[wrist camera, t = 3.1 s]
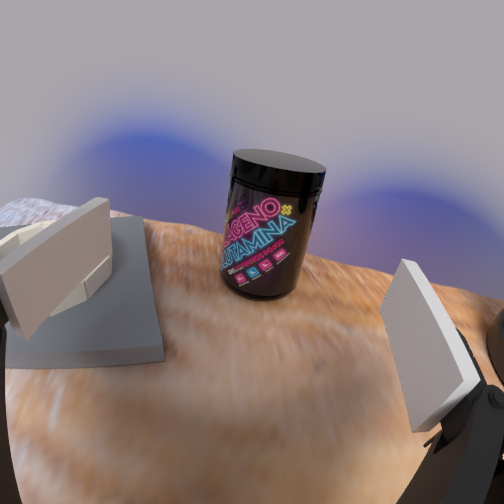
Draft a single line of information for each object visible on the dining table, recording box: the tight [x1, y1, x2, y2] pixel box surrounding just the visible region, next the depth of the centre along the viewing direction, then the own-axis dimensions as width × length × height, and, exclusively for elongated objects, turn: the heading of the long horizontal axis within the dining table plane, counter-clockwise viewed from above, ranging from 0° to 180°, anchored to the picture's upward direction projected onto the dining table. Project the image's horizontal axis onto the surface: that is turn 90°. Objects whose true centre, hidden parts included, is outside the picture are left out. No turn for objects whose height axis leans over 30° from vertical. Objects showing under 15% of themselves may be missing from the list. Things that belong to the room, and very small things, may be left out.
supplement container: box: [220, 149, 326, 301], centre depth 22 cm, size 7×7×10 cm
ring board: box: [0, 216, 165, 369], centre depth 19 cm, size 18×18×3 cm
